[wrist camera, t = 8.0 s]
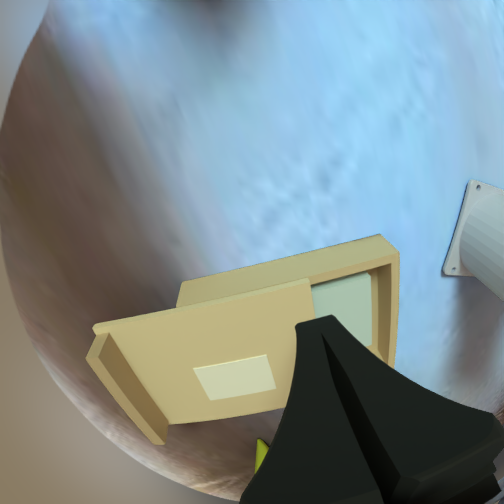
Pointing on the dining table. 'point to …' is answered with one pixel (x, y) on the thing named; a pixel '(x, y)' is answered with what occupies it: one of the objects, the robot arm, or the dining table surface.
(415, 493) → the robot arm
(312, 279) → the mailer box
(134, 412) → the lid
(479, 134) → the dining table surface
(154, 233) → the dining table surface
